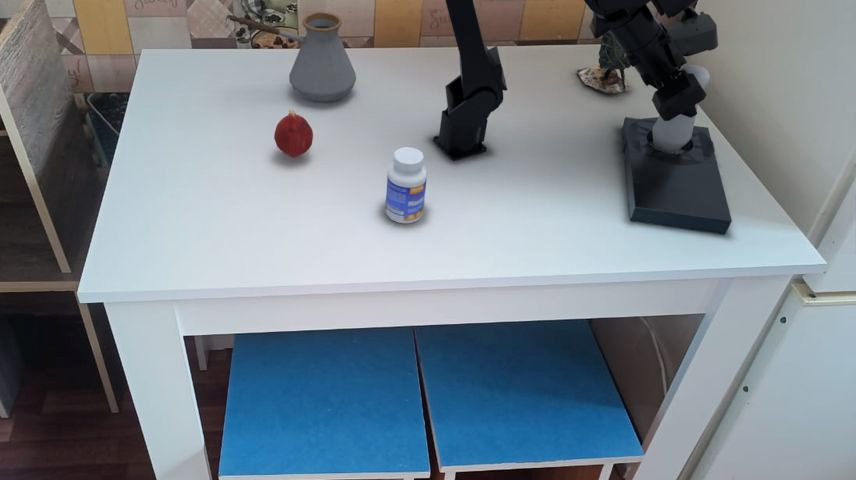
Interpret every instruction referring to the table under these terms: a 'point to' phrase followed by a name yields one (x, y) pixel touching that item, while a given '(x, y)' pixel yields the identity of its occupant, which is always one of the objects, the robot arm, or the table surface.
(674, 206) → the plate
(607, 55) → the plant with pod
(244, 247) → the table surface
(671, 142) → the white rounded peg
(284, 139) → the onion
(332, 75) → the coffee pot
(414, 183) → the pill bottle
